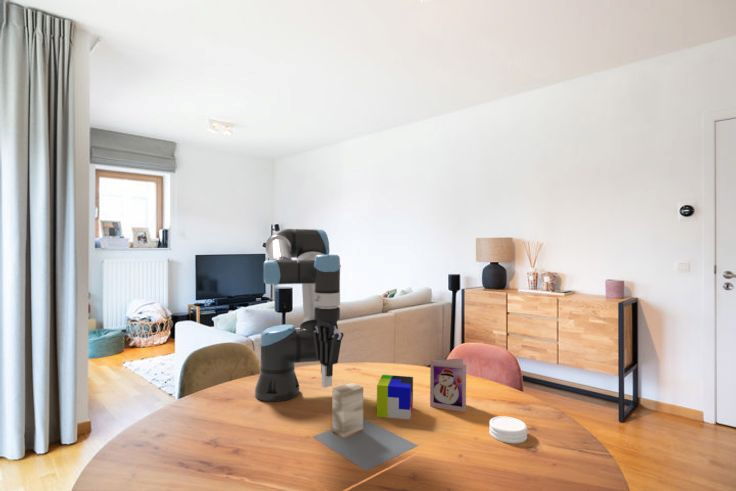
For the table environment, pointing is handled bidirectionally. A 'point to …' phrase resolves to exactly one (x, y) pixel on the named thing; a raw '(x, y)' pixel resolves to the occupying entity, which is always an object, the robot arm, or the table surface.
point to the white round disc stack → (508, 429)
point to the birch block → (347, 410)
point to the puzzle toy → (395, 396)
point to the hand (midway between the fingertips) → (326, 386)
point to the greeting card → (448, 384)
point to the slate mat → (367, 445)
